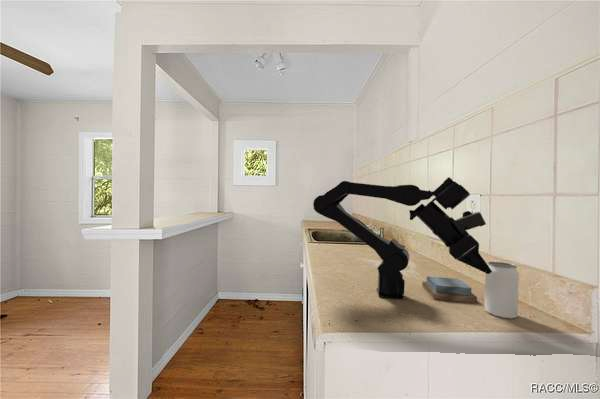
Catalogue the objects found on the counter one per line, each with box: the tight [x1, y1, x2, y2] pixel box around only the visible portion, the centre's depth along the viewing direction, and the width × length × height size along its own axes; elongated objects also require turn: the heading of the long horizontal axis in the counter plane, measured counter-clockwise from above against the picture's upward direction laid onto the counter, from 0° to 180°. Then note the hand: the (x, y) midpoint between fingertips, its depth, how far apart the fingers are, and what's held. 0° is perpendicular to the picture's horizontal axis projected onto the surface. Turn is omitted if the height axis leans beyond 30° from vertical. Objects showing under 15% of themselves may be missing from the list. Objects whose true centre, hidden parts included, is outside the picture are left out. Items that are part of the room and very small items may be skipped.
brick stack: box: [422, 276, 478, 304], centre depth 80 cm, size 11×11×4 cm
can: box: [484, 261, 520, 320], centre depth 66 cm, size 6×6×12 cm
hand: (486, 268), depth 68 cm, fingers open, 9 cm apart
